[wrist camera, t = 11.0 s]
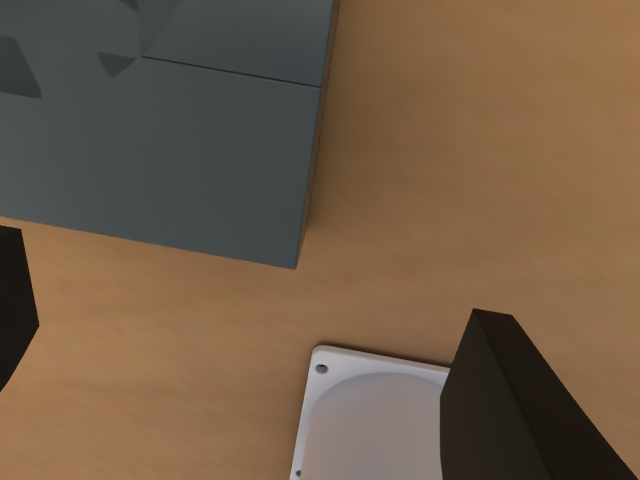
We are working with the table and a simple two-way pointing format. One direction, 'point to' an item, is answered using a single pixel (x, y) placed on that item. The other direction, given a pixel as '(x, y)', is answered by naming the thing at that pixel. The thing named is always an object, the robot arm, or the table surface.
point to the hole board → (166, 119)
